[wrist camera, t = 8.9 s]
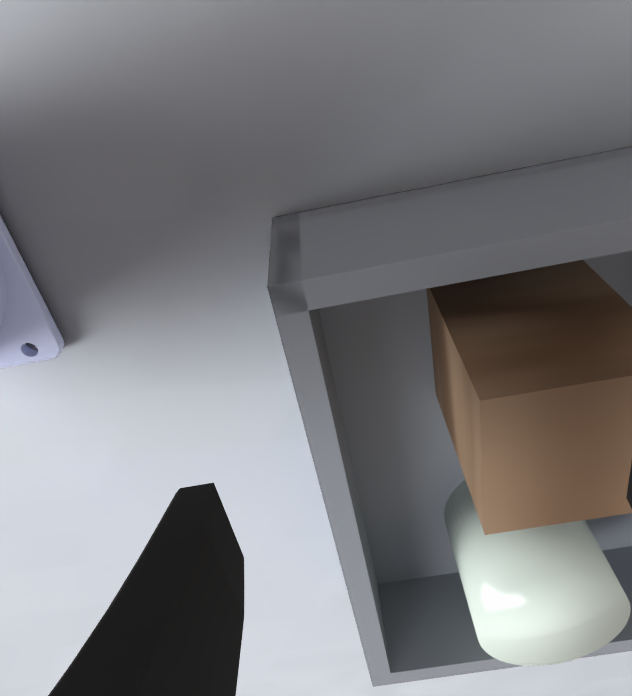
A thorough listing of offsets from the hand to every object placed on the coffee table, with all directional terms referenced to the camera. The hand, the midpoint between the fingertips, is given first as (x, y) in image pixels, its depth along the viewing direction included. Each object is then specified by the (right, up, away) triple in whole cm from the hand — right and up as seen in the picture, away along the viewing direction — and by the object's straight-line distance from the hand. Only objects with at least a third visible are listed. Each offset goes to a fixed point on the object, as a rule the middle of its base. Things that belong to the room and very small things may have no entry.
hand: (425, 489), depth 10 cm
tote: (+5, 0, +11) cm, 12 cm away
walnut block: (+4, +3, +9) cm, 10 cm away
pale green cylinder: (+6, -4, +13) cm, 15 cm away
